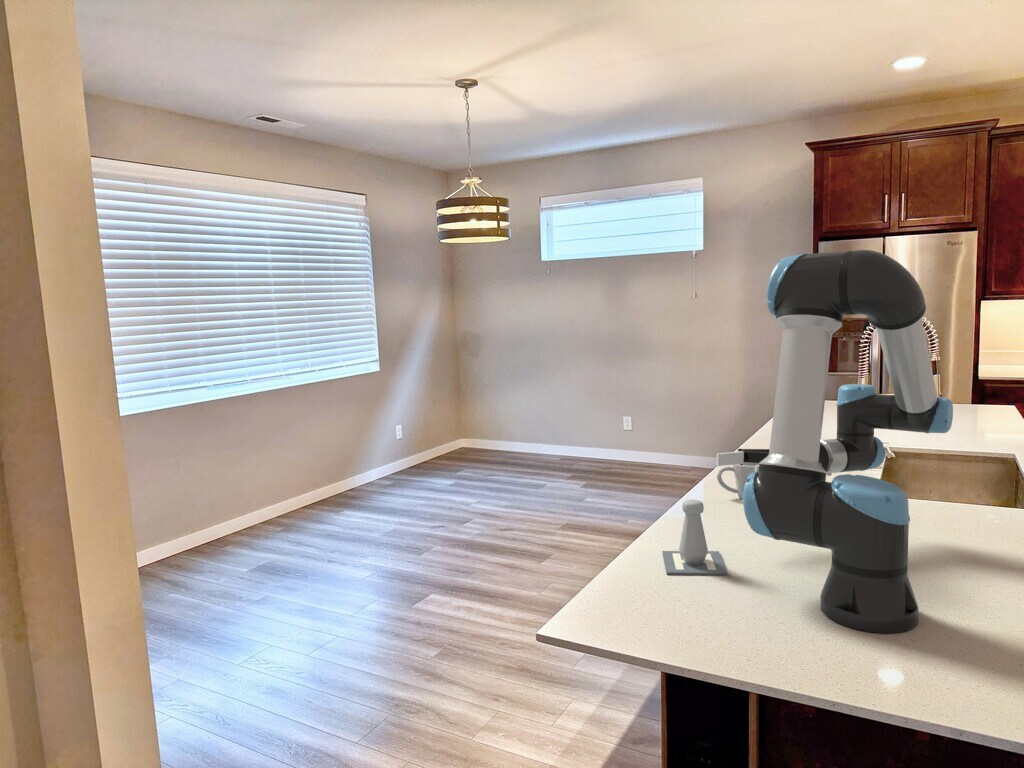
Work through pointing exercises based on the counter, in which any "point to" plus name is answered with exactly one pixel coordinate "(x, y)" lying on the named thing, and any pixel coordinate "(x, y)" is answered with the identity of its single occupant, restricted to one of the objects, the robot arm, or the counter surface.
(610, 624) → the counter surface
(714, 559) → the letter card
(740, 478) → the mug
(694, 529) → the salt shaker
